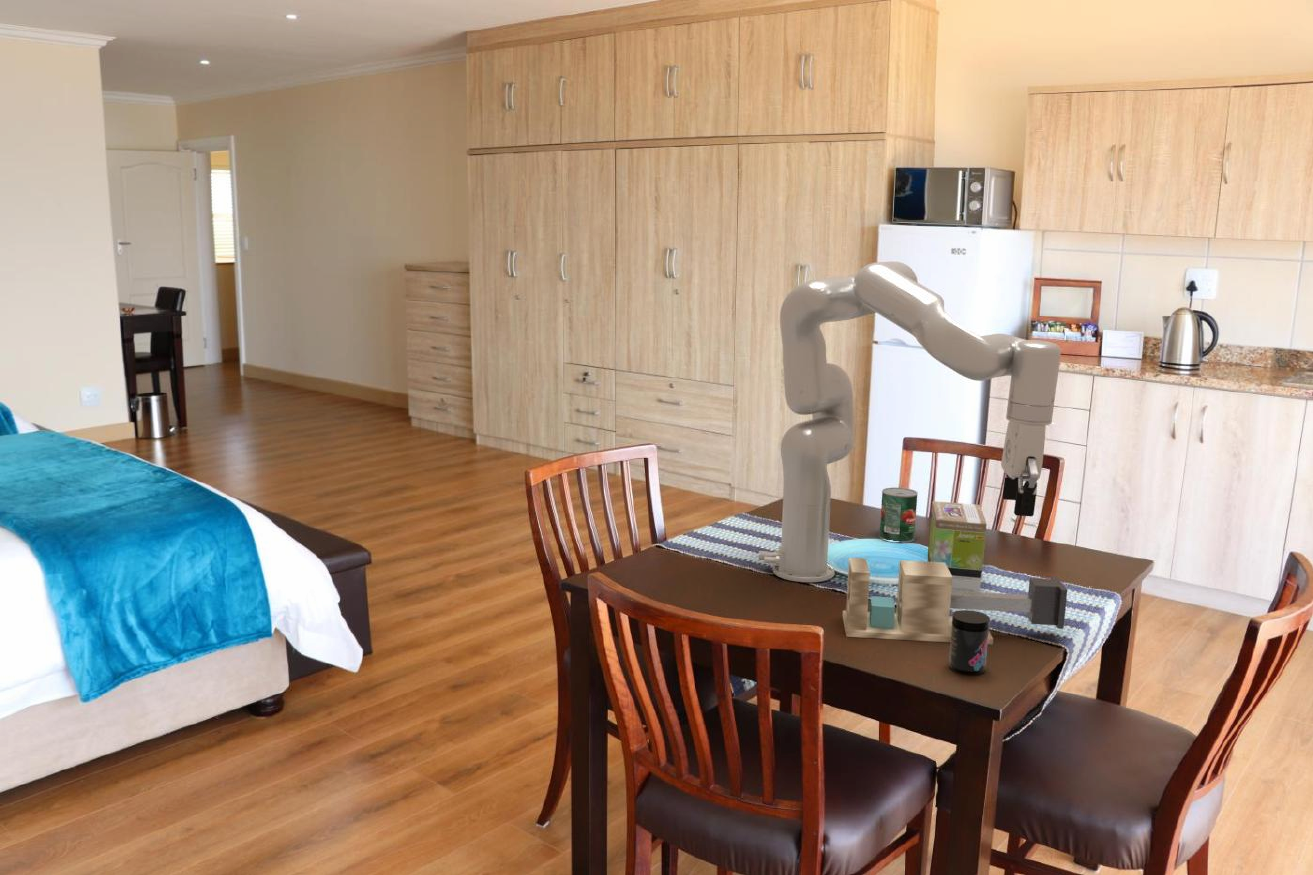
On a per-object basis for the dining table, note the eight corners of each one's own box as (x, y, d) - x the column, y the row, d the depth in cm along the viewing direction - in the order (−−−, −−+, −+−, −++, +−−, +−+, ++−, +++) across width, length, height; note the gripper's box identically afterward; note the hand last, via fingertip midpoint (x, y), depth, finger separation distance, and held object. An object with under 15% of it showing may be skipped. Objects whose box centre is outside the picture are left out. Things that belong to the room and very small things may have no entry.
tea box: (981, 595, 210) (987, 522, 206) (928, 591, 211) (933, 518, 208) (975, 571, 224) (980, 502, 221) (925, 567, 226) (930, 499, 223)
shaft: (912, 620, 188) (915, 582, 186) (907, 606, 194) (910, 569, 193) (1063, 628, 185) (1067, 590, 184) (1053, 614, 192) (1056, 576, 190)
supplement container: (962, 678, 172) (967, 625, 170) (940, 664, 177) (944, 612, 175) (993, 673, 174) (997, 620, 172) (970, 659, 179) (974, 608, 177)
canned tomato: (878, 532, 250) (881, 486, 248) (912, 534, 249) (916, 488, 247) (880, 542, 242) (883, 495, 240) (916, 544, 241) (919, 496, 239)
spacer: (893, 629, 189) (870, 627, 190) (891, 618, 194) (869, 617, 194) (894, 607, 188) (871, 605, 189) (893, 597, 193) (870, 596, 194)
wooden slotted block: (846, 636, 188) (849, 573, 186) (842, 615, 198) (845, 555, 195) (992, 644, 185) (998, 581, 183) (981, 623, 195) (986, 562, 193)
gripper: (997, 401, 194) (986, 492, 198) (1018, 421, 178) (1005, 520, 182) (1040, 404, 194) (1028, 495, 198) (1064, 424, 177) (1051, 523, 181)
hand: (1017, 507), depth 190 cm, fingers open, 9 cm apart
